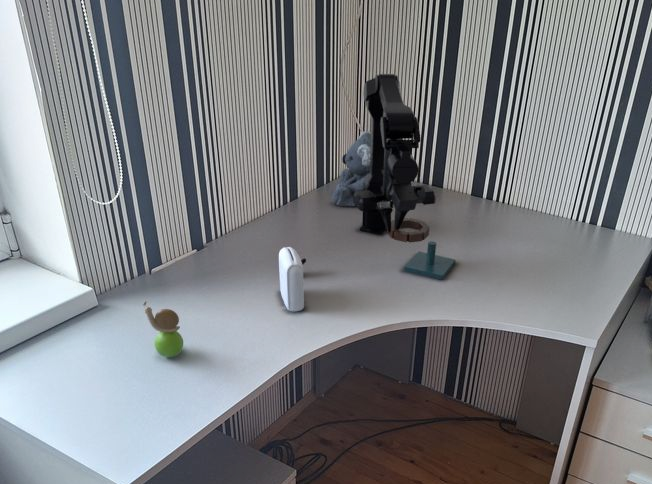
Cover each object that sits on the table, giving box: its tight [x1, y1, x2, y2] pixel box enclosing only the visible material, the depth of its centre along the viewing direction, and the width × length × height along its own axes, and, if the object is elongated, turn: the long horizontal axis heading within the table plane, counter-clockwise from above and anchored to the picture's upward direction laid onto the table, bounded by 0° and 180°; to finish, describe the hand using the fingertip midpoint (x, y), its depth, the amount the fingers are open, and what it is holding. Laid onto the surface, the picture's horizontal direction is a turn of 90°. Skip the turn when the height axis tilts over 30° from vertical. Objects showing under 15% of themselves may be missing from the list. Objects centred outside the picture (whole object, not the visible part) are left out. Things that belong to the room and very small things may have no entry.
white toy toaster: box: [278, 246, 305, 313], centre depth 153 cm, size 10×4×12 cm, turn 17°
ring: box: [386, 217, 430, 244], centre depth 165 cm, size 10×10×2 cm
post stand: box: [403, 240, 456, 281], centre depth 171 cm, size 10×10×7 cm
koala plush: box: [331, 129, 371, 208], centre depth 206 cm, size 17×18×20 cm
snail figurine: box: [142, 300, 184, 358], centre depth 133 cm, size 5×6×12 cm
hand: (392, 231), depth 164 cm, fingers closed on ring, 2 cm apart
